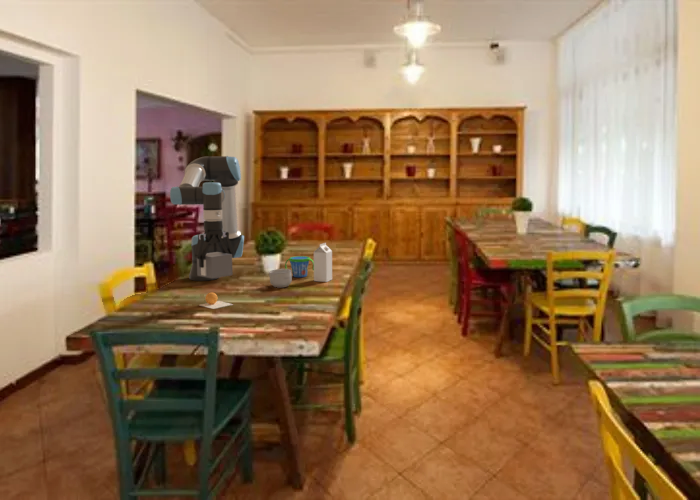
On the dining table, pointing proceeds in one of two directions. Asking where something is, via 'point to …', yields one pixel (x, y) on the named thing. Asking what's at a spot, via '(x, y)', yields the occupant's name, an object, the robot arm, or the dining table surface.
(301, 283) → the dining table surface
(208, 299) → the ball
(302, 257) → the snack cup
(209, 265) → the grey block
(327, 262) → the milk carton
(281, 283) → the teacup
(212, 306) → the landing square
